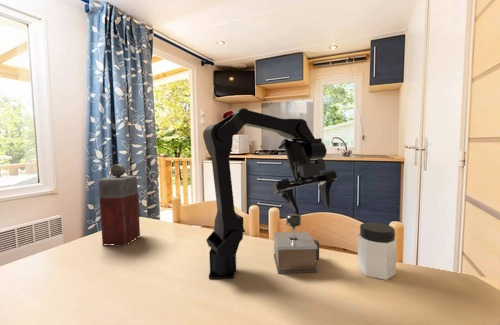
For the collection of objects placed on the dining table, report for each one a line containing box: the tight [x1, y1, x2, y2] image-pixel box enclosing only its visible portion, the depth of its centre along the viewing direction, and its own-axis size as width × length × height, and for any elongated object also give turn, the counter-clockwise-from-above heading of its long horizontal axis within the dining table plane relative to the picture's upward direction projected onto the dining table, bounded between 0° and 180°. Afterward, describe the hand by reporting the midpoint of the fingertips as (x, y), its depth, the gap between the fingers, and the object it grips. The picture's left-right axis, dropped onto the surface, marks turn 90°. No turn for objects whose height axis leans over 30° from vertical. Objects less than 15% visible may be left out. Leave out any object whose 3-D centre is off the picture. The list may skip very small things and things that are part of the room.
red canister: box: [98, 163, 141, 246], centre depth 89 cm, size 9×11×28 cm
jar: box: [357, 221, 397, 281], centre depth 64 cm, size 9×8×12 cm
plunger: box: [285, 213, 302, 240], centre depth 69 cm, size 8×8×11 cm
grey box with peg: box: [273, 231, 320, 274], centre depth 70 cm, size 12×10×7 cm
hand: (313, 211), depth 69 cm, fingers open, 9 cm apart
